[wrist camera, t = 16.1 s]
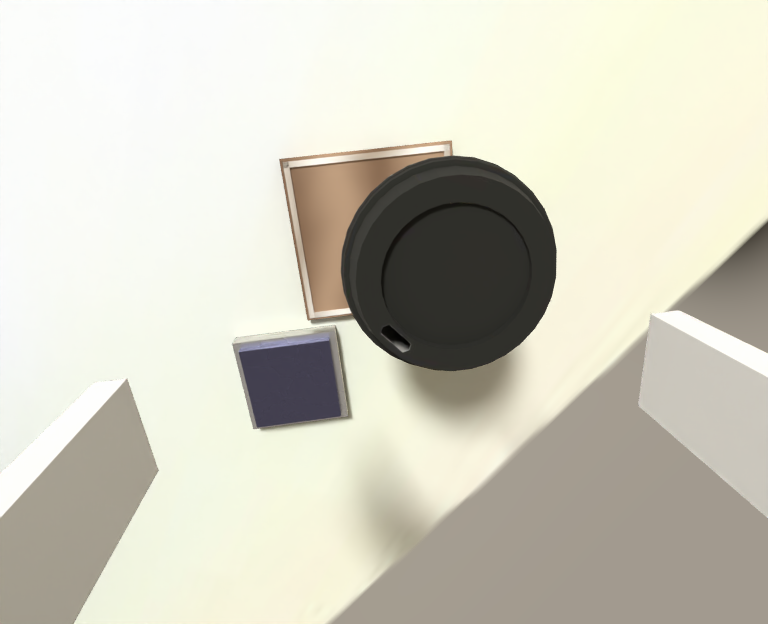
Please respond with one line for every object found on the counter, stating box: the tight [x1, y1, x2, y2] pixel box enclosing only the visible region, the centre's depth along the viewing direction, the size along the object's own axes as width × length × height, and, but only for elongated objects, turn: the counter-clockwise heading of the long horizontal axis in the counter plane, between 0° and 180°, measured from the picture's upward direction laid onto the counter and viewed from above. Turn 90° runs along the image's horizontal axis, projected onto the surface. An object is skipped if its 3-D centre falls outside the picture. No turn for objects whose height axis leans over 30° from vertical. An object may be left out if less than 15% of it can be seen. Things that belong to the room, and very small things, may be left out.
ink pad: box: [232, 325, 348, 429], centre depth 36 cm, size 8×8×2 cm
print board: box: [279, 141, 452, 320], centre depth 33 cm, size 12×12×1 cm
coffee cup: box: [341, 156, 556, 371], centre depth 26 cm, size 10×10×15 cm
